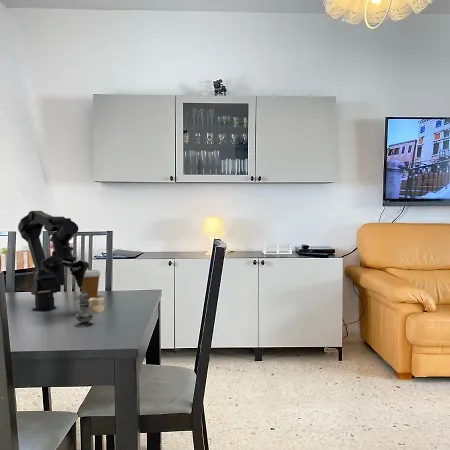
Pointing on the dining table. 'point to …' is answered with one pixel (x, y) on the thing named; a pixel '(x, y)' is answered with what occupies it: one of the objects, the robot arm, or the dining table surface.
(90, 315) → the grey tall rounded piece
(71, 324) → the dining table surface
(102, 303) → the maple block
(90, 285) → the disposable coffee cup
